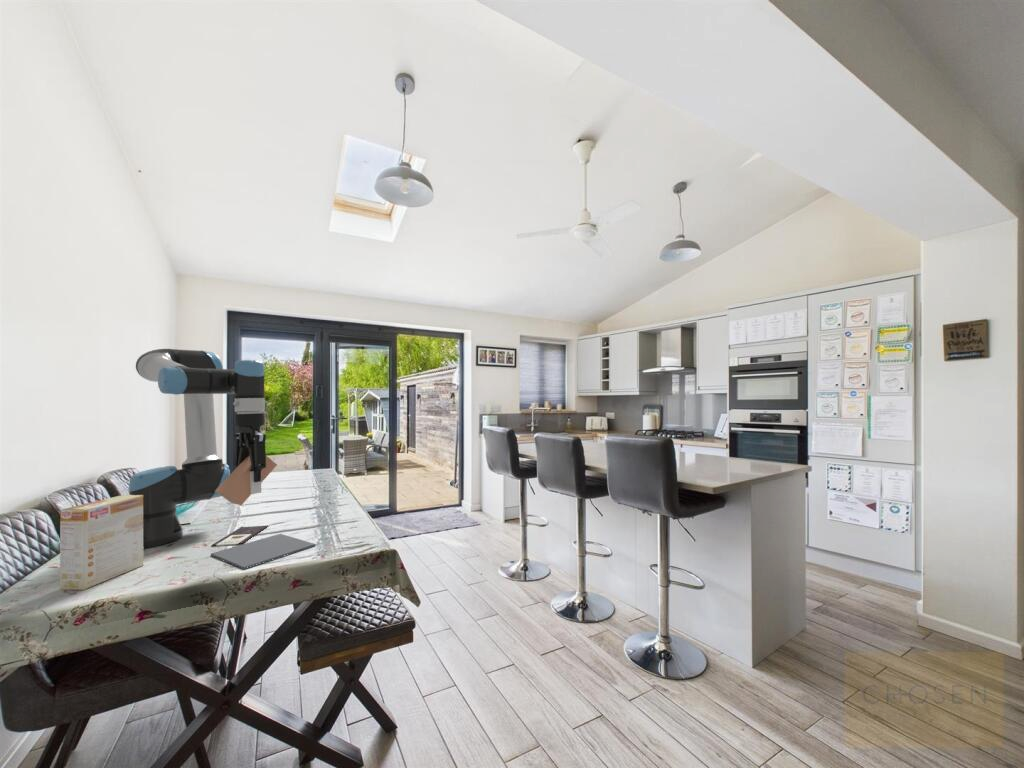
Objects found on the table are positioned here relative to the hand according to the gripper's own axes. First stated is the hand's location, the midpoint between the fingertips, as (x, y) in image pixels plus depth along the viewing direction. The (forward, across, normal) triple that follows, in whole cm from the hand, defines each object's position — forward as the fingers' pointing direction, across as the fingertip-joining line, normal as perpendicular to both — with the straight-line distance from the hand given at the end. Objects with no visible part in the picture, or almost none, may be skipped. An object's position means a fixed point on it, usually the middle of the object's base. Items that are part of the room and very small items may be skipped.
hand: (249, 491), depth 121 cm
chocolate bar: (+19, -21, +7) cm, 29 cm away
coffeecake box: (+18, -18, -27) cm, 37 cm away
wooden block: (+1, 0, -6) cm, 6 cm away
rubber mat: (+18, 0, +4) cm, 19 cm away
